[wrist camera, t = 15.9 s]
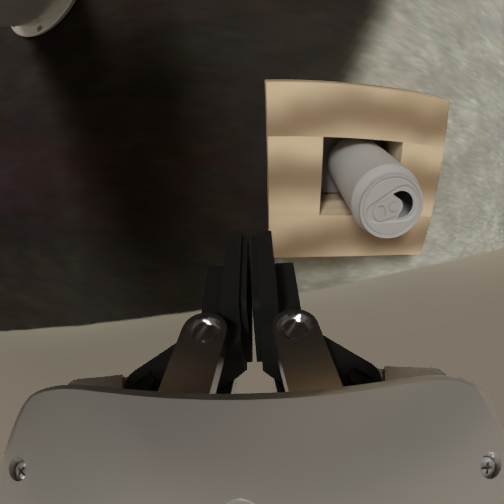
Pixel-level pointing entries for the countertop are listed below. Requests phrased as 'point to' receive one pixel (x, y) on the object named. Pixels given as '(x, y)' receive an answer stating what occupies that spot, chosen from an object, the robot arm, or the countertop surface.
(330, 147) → the sprung base
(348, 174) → the beverage can
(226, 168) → the countertop surface
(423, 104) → the holder block
